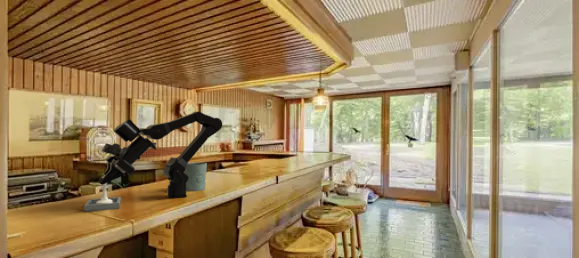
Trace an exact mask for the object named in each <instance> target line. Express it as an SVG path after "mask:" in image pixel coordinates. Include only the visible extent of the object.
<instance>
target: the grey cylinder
mask: <svg viewBox="0 0 579 258" xmlns="http://www.w3.org/2000/svg"><path fill="white" fill-rule="evenodd" d="M207 164H208V163H207V162H188V164H187V167H186V169H185V171H184V173H185V174H186V175H187V176H188V177H189V179H188V181H187V182H186V192H187V191H188V192H200V191H205V190H206V184H207V182H206V180H207V179H206V178H207V168H208V167H207V166H208V165H207Z"/></svg>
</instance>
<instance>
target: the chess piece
mask: <svg viewBox="0 0 579 258" xmlns="http://www.w3.org/2000/svg"><path fill="white" fill-rule="evenodd" d="M104 176H105V175H104ZM101 177H102V176H101ZM102 178H104V177H102ZM107 184H108V183H105V184H103V185H102V186H101V187H100V189H102V193H101V194H102V195H101V197H100V198H101V200H99V201H97V202H96V204H106V203H113V202H112V200H110V199H108V198H109V197H108V194H107V193H108V191H107V189H108V188H109V185H107Z"/></svg>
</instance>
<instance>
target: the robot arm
mask: <svg viewBox="0 0 579 258" xmlns="http://www.w3.org/2000/svg"><path fill="white" fill-rule="evenodd" d="M193 123H197V124H199V125H201V127H200V128H201V129H200V131H199V132H198V134H196V136H195V137H194V138H193V139H192V141H191V142H189V144H188V145H187V147H185V148H184V150H183V151H182V152H181V153H180V154H179V155H178V156H177V157H172V156H171V157H170V158H169V159H168V161H167V162H166V163H165V164H164V167H163V174H164V176H165V177H166V178H167V179H168V180H167V181H169V182H168V185H167V196H168V197H169V199H177V198H186V197H187V190H186V182H187V181H188V179H189V177H188V176H187V175H186V174H185V169H186V167H187V164H188V163H190V161H191V159H192V158H193V157H194V156H195V155H196V153H197V152H198V151H199V150H200V149H201V147H202V146H203V145H204V144H205V143H206V142H207V140H208V139H209V138H211V137H212V136H213V135H215V134H216V133H218V132H220V130H221V129H222V128H223V120H221V119H220V118H219V117H214V116H211V115H208V114H205V113H203V112H201V111H194V112H191V113H189V114H186V115H184V116H180V117H178V118H176V119H173V120H169V121H167V122H162V123H155V124H151V125H148V126H146V128H145V127H144V128H140V127H139V126H137V125H136V124H135V123H134V122H133V121H132V120H131V119H130V118H127V119H126V120H125V121H123V122H122V123H121V124H119V125H117V126H116V127H115V128H114V129H113V131H112V132H114V133H115V135H117V136H118V137H119V138H121V140H123V141H124V142H131V143H130V144H128V146H123V148H121V145H120V144H118V143H116V142H114V143H113V144H110V143H108V142H106V143H104V146H103V148H102V150H101V152H102V153H106V154H109V156H107V158H106V159H105V161H106V165H107V166H106V170H105V171H104V172H103V174H102V176H100V178H99V180H98V183H99V184H100V185H102V186H103V184H105V183H107V184H108V183H110V182H112V181H114V180H116V179H119V178H121V177H124V176H126V174H127V175H128V176H132V175H133V174H134V173H135V171H136V170H135V167H134V166H133V164H135V163H136V161H140V159H141V156H142V155H144V154H145V153H146V152H147V151H148V150H149V149H151V150H157V142H153V141H151V140H156V141H157V140H162V139H163V138H165V137H166V136H168V135H169V134H170V133H172V132H173V131H176V130H178V129H181V128H184V127H186V126H188V125H191V124H193ZM143 136H146V137H143ZM104 175H105V176H104ZM102 177H104V178H102Z"/></svg>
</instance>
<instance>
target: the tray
mask: <svg viewBox="0 0 579 258" xmlns="http://www.w3.org/2000/svg"><path fill="white" fill-rule="evenodd" d="M101 198H102V197H100V198H89V199H88V200H87V201H86V203H85V204H84V207H83V208H84V209H83V211H84V213H88V212H97V211H99V210H100V211H108V210H109V209H110V210H118V209H120V206H121V204H122V203H121V202H122V196H115V197H107V198H108V199H110V200H112V202H113V203H106V204H96V202H97V201H99V200H101ZM107 209H108V210H107ZM110 210H109V211H110Z"/></svg>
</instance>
